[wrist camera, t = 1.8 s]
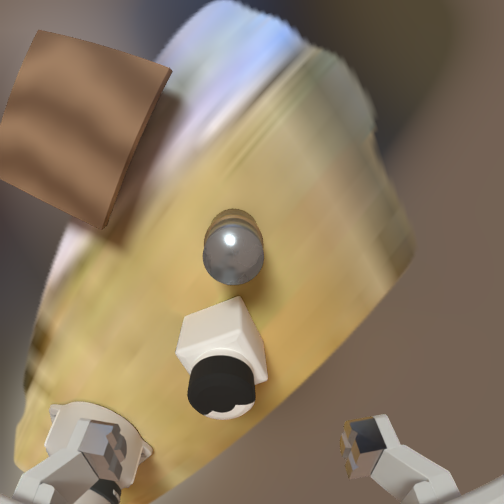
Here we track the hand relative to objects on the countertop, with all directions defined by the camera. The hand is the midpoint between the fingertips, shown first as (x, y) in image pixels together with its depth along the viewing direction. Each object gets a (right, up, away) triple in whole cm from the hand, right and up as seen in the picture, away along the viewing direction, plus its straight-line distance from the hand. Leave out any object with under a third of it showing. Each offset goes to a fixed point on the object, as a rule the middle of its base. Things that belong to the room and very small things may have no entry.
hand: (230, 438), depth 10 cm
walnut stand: (-17, +20, +18) cm, 32 cm away
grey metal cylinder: (-1, +8, +23) cm, 25 cm away
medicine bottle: (-2, -2, +27) cm, 28 cm away
